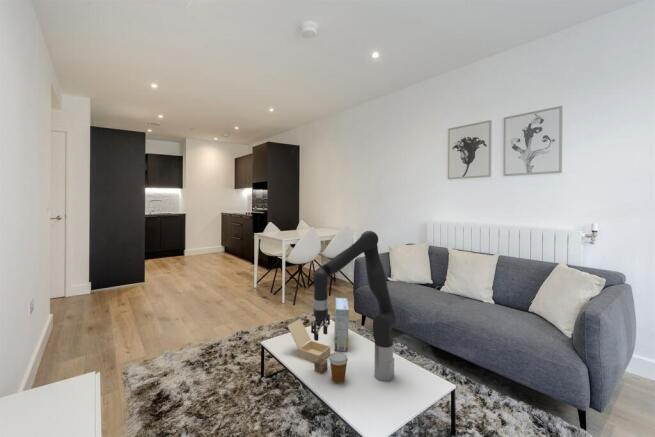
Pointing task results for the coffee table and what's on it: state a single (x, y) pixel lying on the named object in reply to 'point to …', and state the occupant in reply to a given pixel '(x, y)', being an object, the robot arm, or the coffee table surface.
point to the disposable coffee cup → (338, 366)
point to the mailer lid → (299, 333)
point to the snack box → (341, 324)
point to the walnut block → (320, 365)
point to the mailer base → (314, 351)
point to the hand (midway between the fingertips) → (320, 337)
